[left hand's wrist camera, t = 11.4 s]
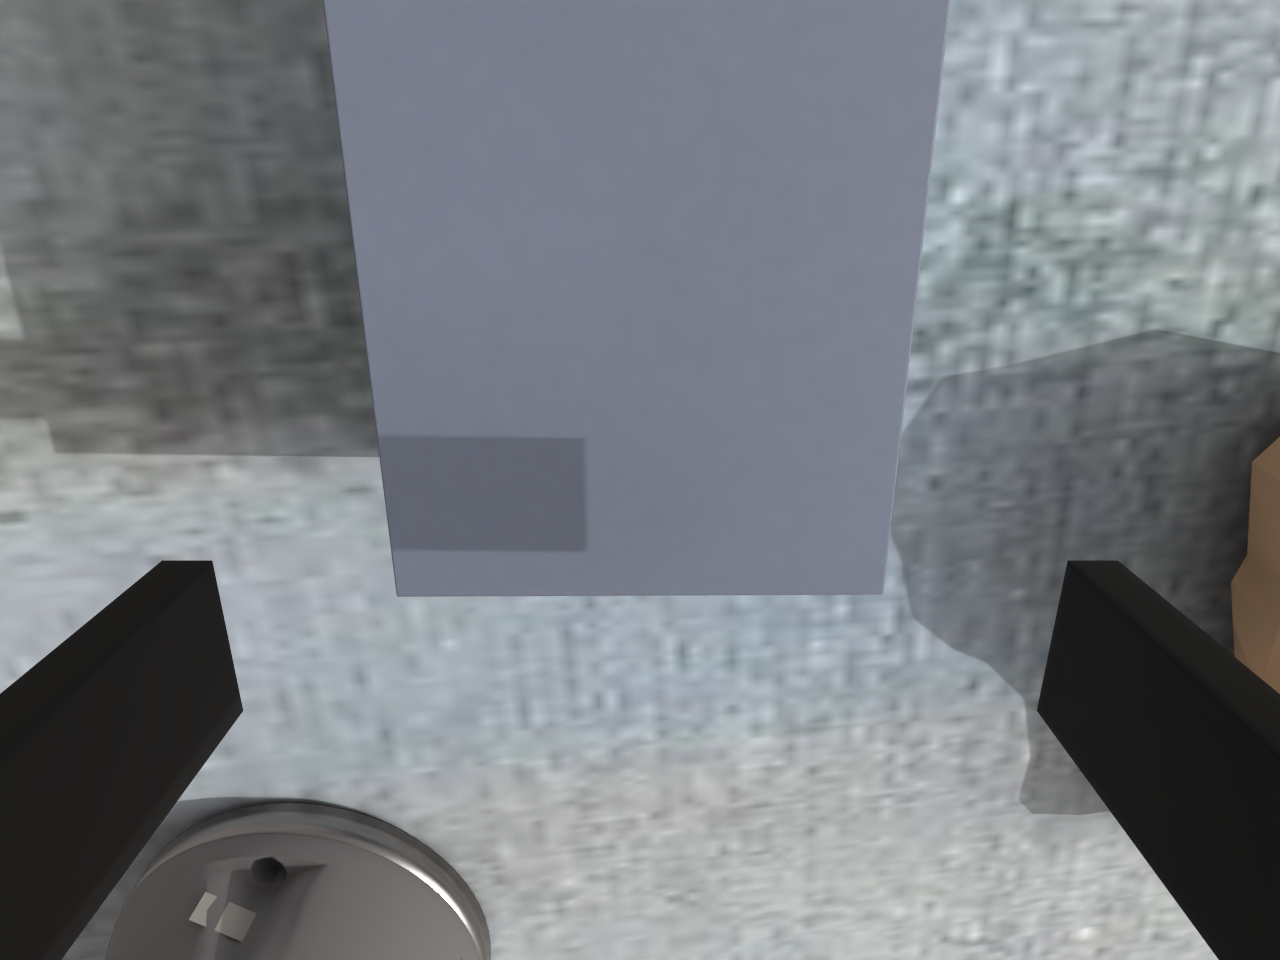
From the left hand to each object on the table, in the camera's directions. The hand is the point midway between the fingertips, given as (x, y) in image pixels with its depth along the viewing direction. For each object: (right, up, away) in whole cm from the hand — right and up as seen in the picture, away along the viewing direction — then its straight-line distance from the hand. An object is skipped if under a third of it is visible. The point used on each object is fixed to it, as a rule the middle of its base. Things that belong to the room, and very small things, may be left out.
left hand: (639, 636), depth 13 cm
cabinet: (0, +11, +12) cm, 16 cm away
